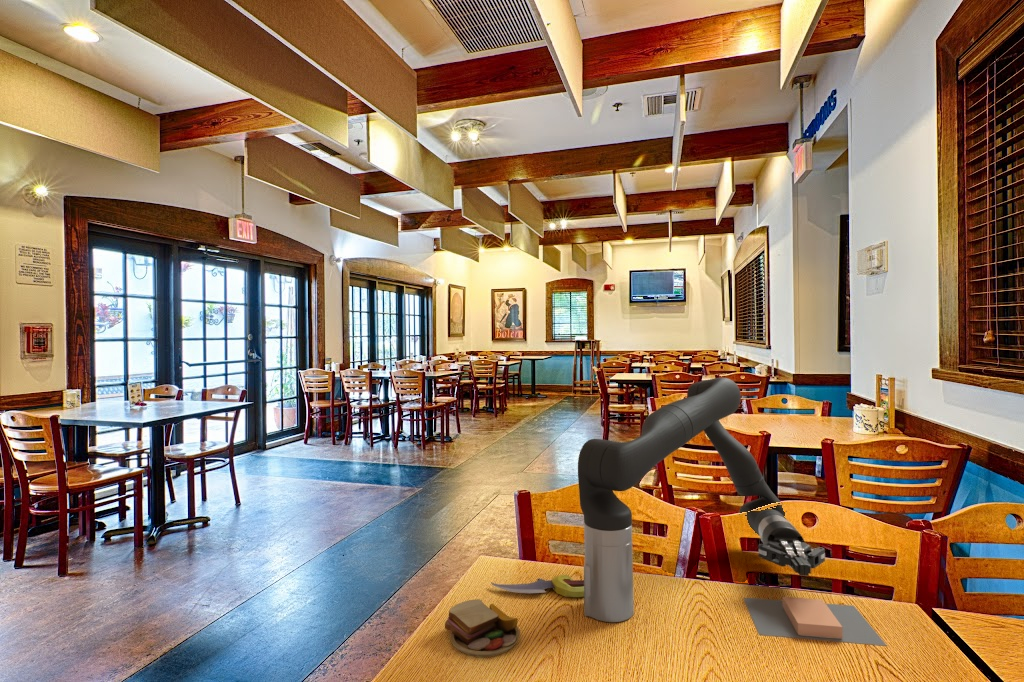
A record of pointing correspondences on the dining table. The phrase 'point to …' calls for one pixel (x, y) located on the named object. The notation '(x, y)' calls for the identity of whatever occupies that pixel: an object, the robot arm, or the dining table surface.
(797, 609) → the tile
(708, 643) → the dining table surface
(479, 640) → the toy sandwich meal
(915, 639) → the dining table surface
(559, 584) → the knife
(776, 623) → the mat
